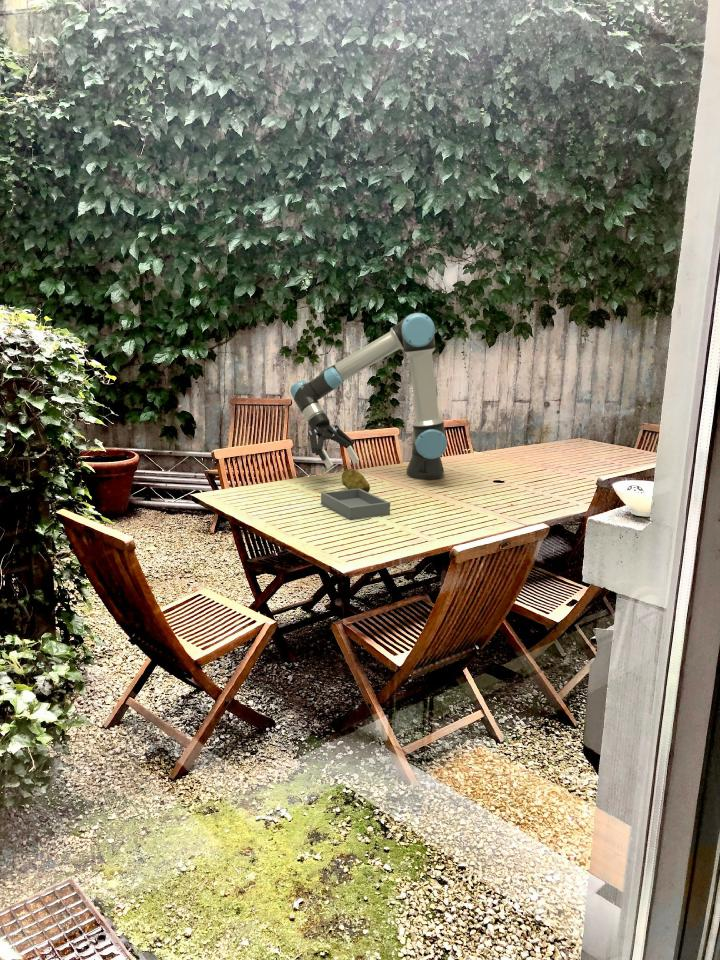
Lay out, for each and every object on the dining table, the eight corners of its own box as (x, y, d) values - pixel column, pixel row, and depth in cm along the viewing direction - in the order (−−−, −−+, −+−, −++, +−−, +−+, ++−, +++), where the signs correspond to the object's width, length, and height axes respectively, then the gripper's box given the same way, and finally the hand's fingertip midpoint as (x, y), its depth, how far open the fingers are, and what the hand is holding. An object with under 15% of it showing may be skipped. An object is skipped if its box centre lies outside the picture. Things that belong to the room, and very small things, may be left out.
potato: (349, 497, 249) (350, 475, 247) (338, 488, 261) (339, 467, 259) (371, 496, 252) (372, 474, 250) (359, 487, 264) (360, 466, 262)
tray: (320, 504, 240) (321, 492, 239) (358, 499, 247) (359, 488, 246) (350, 519, 223) (350, 507, 222) (389, 514, 231) (390, 502, 230)
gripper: (334, 421, 274) (361, 465, 268) (286, 427, 257) (313, 475, 250) (345, 409, 270) (372, 454, 264) (296, 414, 252) (324, 463, 246)
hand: (343, 464), depth 257 cm, fingers open, 13 cm apart
